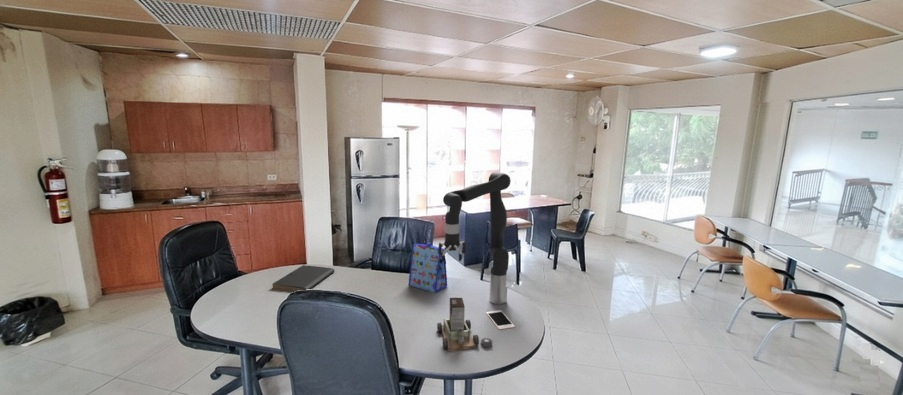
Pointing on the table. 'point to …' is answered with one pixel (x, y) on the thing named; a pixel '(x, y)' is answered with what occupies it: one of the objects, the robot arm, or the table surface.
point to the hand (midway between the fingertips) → (451, 261)
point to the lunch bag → (427, 268)
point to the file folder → (303, 278)
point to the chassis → (457, 337)
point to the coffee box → (456, 314)
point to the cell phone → (500, 320)
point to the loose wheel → (486, 342)
